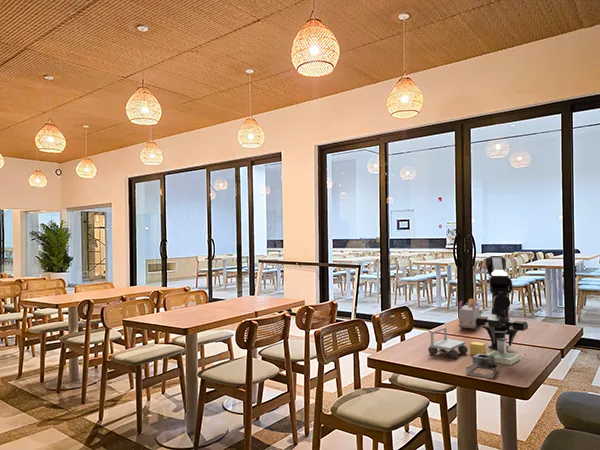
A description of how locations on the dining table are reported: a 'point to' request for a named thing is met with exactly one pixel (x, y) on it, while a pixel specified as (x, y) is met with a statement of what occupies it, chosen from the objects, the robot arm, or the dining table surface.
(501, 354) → the stop pin
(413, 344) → the dining table surface
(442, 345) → the trolley
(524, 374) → the dining table surface
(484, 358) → the pin bracket
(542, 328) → the dining table surface
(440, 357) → the dining table surface
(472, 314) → the toy vehicle
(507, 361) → the tray
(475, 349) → the yellow block
